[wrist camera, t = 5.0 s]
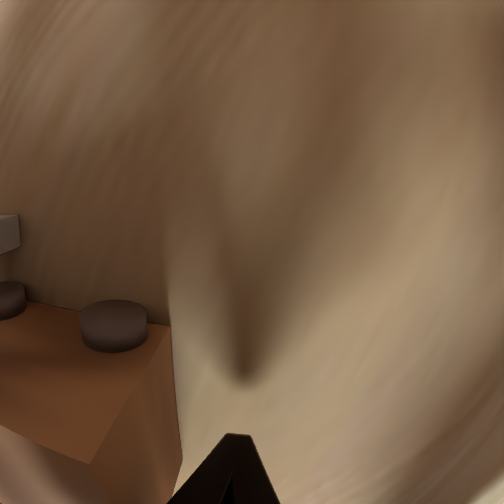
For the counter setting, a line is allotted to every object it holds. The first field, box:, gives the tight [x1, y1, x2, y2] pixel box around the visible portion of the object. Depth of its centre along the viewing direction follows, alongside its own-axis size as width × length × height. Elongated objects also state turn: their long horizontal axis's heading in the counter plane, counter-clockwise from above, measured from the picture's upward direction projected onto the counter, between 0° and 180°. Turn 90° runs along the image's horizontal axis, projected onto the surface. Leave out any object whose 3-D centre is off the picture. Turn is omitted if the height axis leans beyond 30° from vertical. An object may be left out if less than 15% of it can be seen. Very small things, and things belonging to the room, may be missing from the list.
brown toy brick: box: [0, 282, 182, 504], centre depth 7 cm, size 7×7×5 cm
